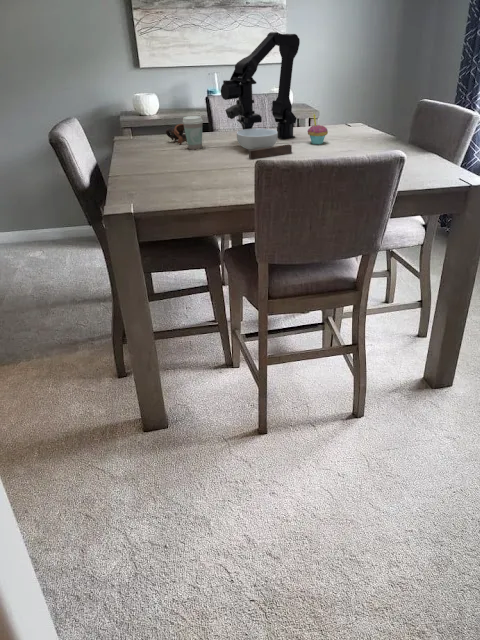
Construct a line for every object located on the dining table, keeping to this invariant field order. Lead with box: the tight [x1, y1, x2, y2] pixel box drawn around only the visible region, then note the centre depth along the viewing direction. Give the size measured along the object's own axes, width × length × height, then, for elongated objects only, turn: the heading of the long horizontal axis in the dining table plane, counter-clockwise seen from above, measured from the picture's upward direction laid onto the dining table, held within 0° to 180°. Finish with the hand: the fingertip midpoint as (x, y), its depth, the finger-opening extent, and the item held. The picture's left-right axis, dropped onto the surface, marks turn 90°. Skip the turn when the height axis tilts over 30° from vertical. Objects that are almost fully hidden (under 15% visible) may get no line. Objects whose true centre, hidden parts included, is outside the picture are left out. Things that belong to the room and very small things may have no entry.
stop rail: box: [248, 144, 293, 160], centre depth 195 cm, size 18×2×3 cm, turn 116°
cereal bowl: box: [236, 127, 278, 152], centre depth 203 cm, size 17×17×7 cm
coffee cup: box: [182, 115, 204, 150], centre depth 208 cm, size 8×9×12 cm
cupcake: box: [307, 112, 329, 145], centre depth 208 cm, size 9×8×12 cm
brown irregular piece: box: [165, 123, 187, 145], centre depth 220 cm, size 12×10×8 cm
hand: (246, 137), depth 211 cm, fingers closed
